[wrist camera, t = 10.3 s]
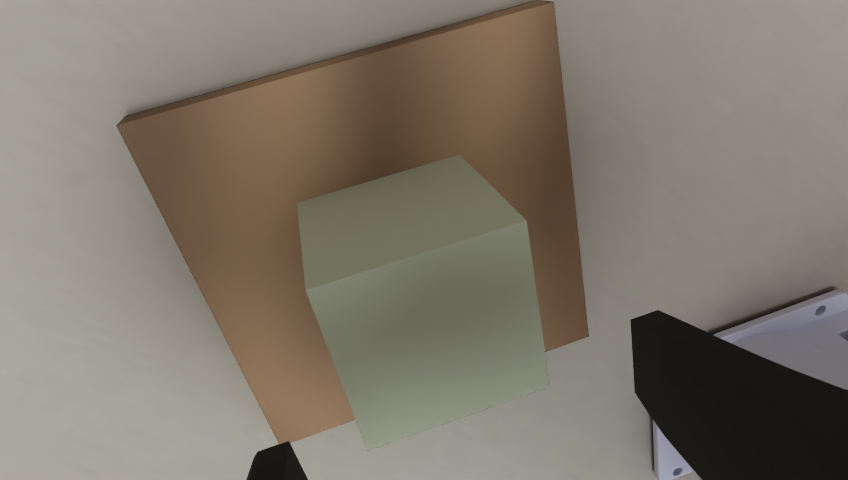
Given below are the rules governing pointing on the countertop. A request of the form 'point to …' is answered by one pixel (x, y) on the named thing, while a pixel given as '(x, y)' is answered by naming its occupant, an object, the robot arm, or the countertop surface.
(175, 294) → the countertop surface
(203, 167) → the walnut pad
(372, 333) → the sage cube
